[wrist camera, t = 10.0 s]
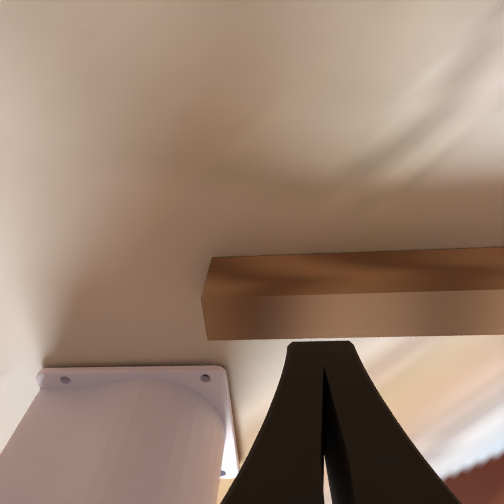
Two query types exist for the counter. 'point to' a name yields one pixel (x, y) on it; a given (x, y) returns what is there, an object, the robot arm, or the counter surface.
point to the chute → (356, 295)
